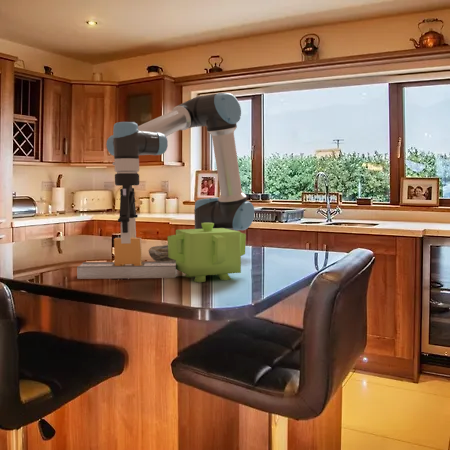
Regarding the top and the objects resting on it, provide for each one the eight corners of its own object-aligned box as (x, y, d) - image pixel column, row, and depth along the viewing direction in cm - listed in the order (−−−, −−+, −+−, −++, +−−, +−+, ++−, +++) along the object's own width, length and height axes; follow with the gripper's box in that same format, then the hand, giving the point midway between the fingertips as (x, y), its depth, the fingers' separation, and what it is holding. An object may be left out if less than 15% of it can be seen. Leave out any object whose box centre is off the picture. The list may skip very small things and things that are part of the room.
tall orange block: (141, 274, 154) (141, 237, 153) (140, 276, 151) (140, 238, 150) (116, 275, 153) (115, 237, 152) (114, 276, 150) (114, 238, 149)
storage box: (180, 288, 134) (180, 226, 133) (158, 274, 155) (158, 221, 154) (260, 281, 144) (260, 224, 143) (229, 269, 165) (229, 219, 164)
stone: (158, 257, 169) (152, 234, 174) (148, 273, 175) (143, 251, 181) (192, 258, 176) (185, 236, 181) (181, 273, 182) (175, 252, 188)
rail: (176, 273, 157) (176, 261, 157) (175, 277, 149) (175, 265, 149) (83, 274, 155) (82, 262, 155) (77, 278, 147) (77, 266, 147)
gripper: (120, 173, 161) (122, 235, 164) (107, 172, 137) (110, 246, 139) (143, 173, 162) (144, 235, 164) (134, 172, 137) (136, 245, 139)
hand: (128, 240), depth 151 cm, fingers open, 13 cm apart
